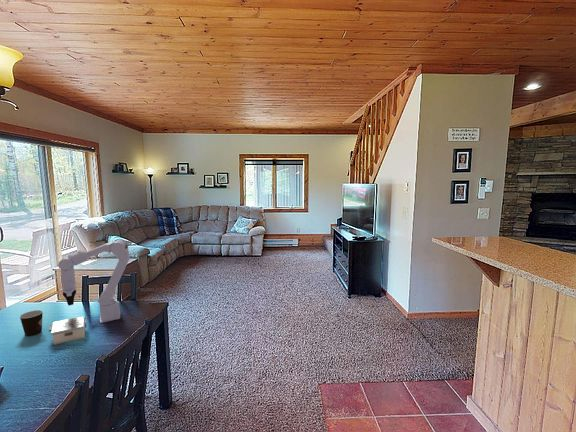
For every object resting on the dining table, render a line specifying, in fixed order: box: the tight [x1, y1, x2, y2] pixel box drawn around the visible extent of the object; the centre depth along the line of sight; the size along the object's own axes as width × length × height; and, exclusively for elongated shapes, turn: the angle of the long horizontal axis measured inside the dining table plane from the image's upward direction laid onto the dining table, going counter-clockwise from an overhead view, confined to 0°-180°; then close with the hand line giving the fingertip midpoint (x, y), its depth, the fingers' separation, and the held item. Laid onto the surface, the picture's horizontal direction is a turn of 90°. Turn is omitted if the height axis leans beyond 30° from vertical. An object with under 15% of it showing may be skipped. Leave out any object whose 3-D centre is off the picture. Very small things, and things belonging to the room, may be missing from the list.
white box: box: [52, 316, 87, 346], centre depth 148 cm, size 13×15×5 cm
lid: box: [48, 316, 85, 335], centre depth 147 cm, size 14×12×1 cm
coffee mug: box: [19, 309, 44, 337], centre depth 151 cm, size 12×9×10 cm
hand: (70, 304), depth 159 cm, fingers closed
